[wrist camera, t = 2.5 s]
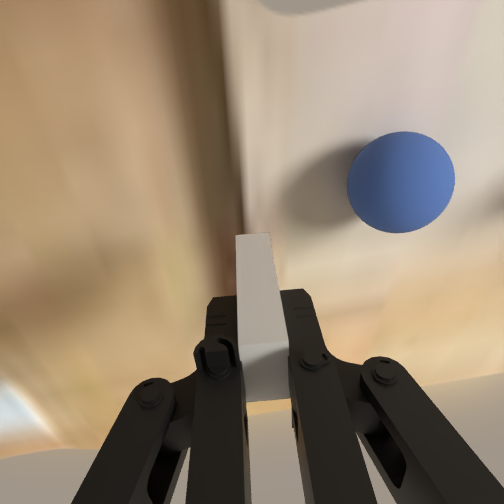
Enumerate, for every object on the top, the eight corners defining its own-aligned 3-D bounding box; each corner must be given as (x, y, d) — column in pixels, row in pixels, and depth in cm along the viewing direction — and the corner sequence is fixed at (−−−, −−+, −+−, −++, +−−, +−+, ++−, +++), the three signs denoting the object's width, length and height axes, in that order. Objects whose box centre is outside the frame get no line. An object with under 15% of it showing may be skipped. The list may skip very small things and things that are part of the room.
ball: (317, 172, 24) (342, 212, 19) (388, 99, 22) (437, 123, 17) (373, 221, 26) (407, 268, 21) (442, 160, 24) (498, 197, 19)
